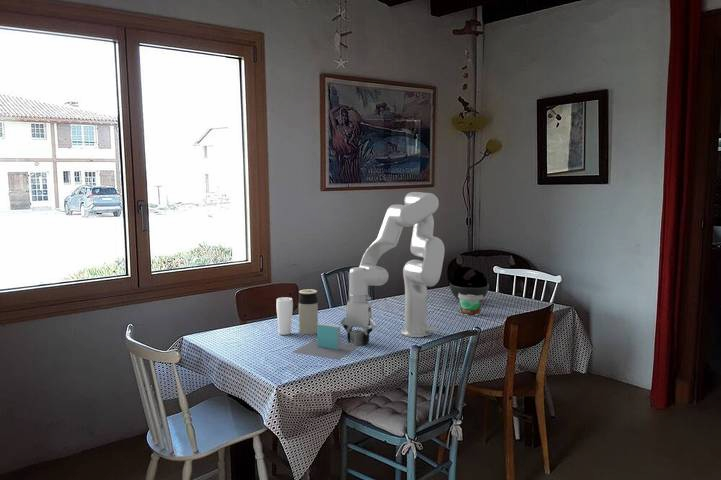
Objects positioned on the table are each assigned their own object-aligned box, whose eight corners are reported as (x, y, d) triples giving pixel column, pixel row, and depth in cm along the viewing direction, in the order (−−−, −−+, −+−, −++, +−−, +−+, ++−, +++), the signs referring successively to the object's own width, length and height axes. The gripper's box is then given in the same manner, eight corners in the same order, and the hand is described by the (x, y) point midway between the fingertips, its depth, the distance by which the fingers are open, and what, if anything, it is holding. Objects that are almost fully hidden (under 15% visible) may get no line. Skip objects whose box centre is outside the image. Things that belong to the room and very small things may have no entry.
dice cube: (355, 346, 232) (355, 334, 232) (348, 343, 236) (348, 331, 236) (366, 344, 235) (366, 332, 235) (358, 341, 239) (358, 329, 239)
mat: (359, 346, 232) (359, 345, 232) (339, 360, 215) (339, 359, 215) (314, 340, 240) (314, 339, 240) (291, 353, 223) (291, 352, 223)
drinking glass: (279, 336, 244) (279, 301, 242) (274, 332, 250) (274, 298, 248) (295, 334, 248) (295, 299, 246) (289, 330, 253) (289, 296, 252)
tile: (340, 348, 228) (340, 325, 227) (337, 349, 226) (337, 327, 225) (319, 345, 232) (319, 323, 231) (317, 346, 230) (317, 324, 229)
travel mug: (310, 336, 246) (310, 293, 243) (295, 333, 250) (294, 291, 248) (321, 331, 252) (321, 290, 250) (306, 328, 257) (306, 288, 254)
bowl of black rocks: (449, 298, 318) (450, 263, 315) (486, 299, 315) (488, 264, 312) (449, 306, 298) (450, 270, 296) (489, 308, 295) (491, 271, 293)
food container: (454, 315, 282) (455, 294, 280) (457, 312, 287) (458, 292, 286) (480, 317, 277) (481, 297, 276) (483, 314, 283) (483, 294, 282)
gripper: (382, 298, 233) (381, 343, 235) (343, 294, 240) (342, 337, 242) (374, 302, 226) (374, 348, 229) (334, 298, 233) (334, 342, 236)
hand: (358, 342), depth 235 cm, fingers closed on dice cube, 6 cm apart
